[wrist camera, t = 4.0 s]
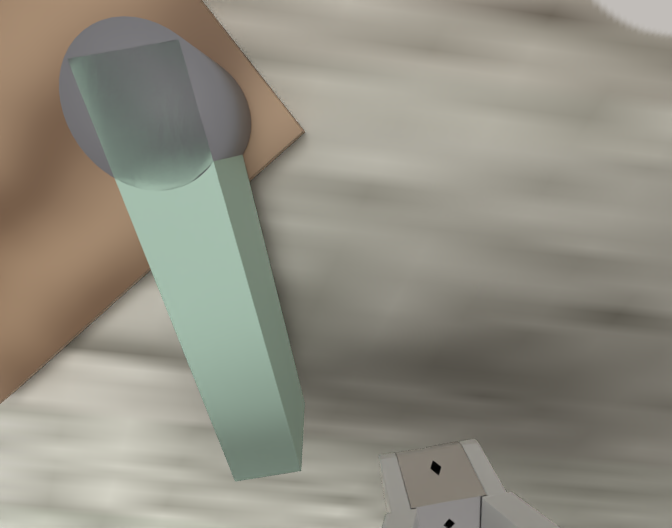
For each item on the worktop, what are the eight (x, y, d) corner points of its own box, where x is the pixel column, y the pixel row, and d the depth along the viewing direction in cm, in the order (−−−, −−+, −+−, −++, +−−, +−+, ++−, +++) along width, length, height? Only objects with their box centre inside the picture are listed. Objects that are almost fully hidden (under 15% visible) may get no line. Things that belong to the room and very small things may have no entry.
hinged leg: (117, 64, 12) (27, 31, 8) (234, 44, 12) (196, 2, 8) (239, 413, 18) (219, 483, 15) (317, 401, 18) (316, 468, 15)
